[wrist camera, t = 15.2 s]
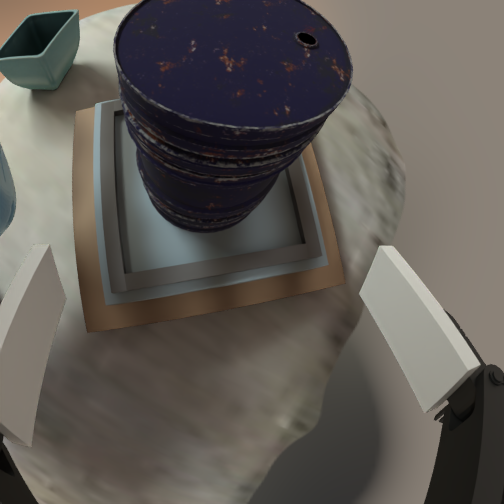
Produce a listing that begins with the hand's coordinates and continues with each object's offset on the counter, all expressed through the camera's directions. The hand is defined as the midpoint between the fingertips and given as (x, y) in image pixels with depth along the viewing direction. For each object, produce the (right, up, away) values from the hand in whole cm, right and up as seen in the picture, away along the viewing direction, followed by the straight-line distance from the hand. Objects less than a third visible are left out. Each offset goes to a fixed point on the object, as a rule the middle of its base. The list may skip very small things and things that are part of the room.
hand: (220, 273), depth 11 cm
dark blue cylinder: (-3, +7, +13) cm, 15 cm away
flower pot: (-26, +24, +18) cm, 40 cm away
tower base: (-4, +6, +19) cm, 20 cm away
